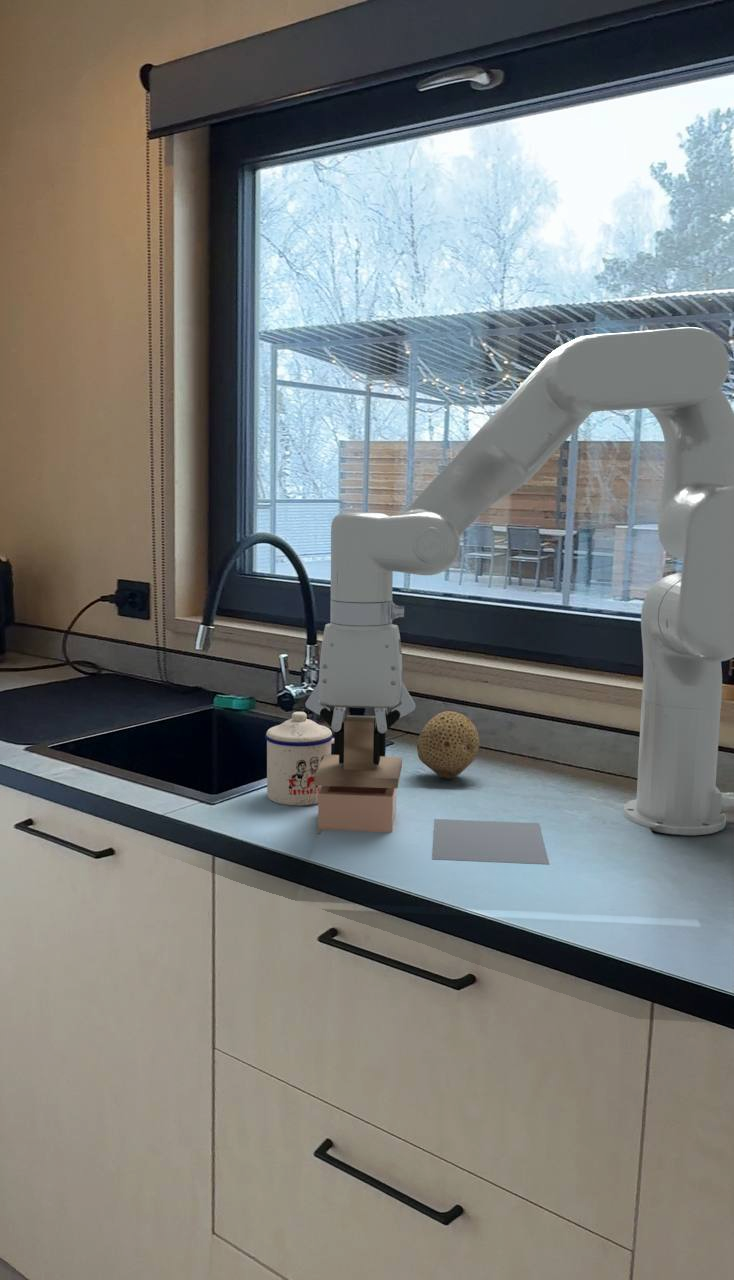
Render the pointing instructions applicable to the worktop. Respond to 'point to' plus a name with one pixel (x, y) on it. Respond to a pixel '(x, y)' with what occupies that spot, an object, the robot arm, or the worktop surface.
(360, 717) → the lid
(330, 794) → the dish
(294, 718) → the teacup with lid
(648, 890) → the worktop surface
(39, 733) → the worktop surface
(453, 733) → the natural sponge
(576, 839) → the worktop surface
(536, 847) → the mat
